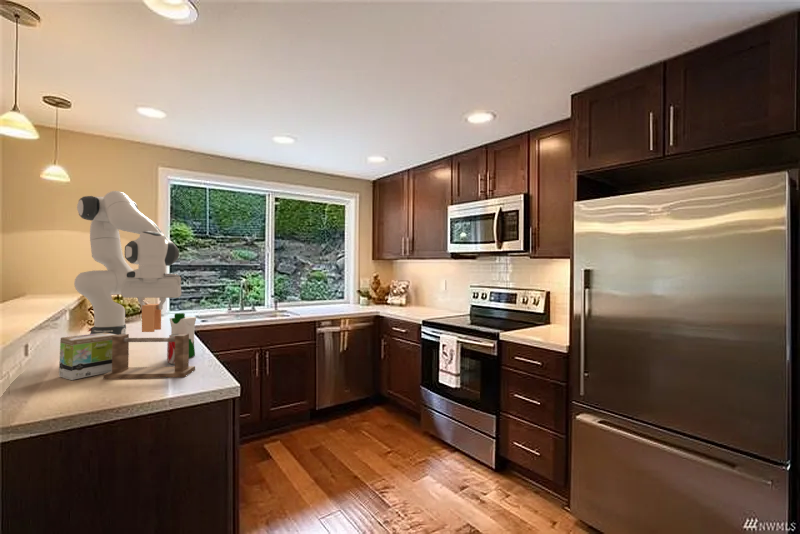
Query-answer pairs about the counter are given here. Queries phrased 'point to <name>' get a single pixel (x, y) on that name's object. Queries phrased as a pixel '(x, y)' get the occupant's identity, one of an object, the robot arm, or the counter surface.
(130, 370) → the hanger stand
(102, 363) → the tea box
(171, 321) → the milk carton
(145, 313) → the tall peach brick
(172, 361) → the soda can
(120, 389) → the counter surface
